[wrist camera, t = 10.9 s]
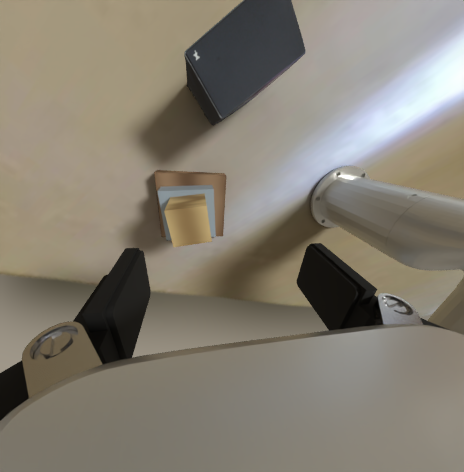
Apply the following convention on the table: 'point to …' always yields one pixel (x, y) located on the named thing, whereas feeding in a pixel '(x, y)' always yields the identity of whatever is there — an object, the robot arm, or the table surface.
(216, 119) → the small box
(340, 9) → the table surface
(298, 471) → the robot arm
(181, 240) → the block
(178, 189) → the tower top
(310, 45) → the table surface
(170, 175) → the tower base
